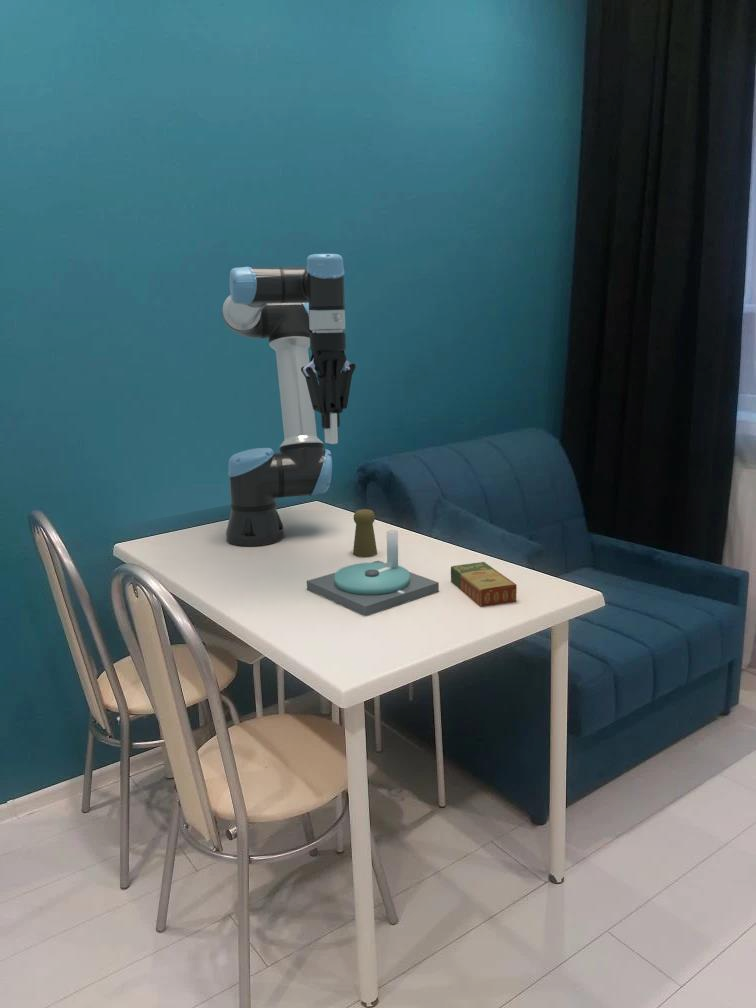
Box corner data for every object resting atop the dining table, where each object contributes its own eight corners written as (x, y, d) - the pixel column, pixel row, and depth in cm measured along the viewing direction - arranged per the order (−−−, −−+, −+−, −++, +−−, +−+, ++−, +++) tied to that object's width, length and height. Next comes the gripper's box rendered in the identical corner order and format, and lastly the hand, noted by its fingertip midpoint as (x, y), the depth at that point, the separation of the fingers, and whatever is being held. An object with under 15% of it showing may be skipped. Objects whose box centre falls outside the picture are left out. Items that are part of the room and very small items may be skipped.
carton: (479, 608, 157) (479, 588, 156) (449, 583, 172) (449, 564, 170) (517, 603, 159) (517, 583, 158) (484, 578, 174) (484, 560, 173)
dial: (373, 600, 155) (372, 555, 153) (319, 582, 166) (317, 539, 164) (425, 579, 166) (424, 537, 164) (371, 564, 177) (370, 523, 175)
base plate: (307, 589, 168) (306, 579, 167) (378, 568, 180) (378, 559, 180) (365, 616, 153) (365, 605, 152) (438, 591, 165) (438, 581, 165)
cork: (378, 549, 194) (377, 507, 192) (376, 557, 188) (375, 513, 186) (354, 549, 195) (353, 507, 192) (351, 557, 189) (350, 513, 186)
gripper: (312, 332, 156) (316, 449, 162) (363, 330, 164) (365, 441, 170) (291, 332, 162) (296, 444, 168) (341, 330, 170) (344, 437, 176)
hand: (331, 442), depth 169 cm, fingers closed
